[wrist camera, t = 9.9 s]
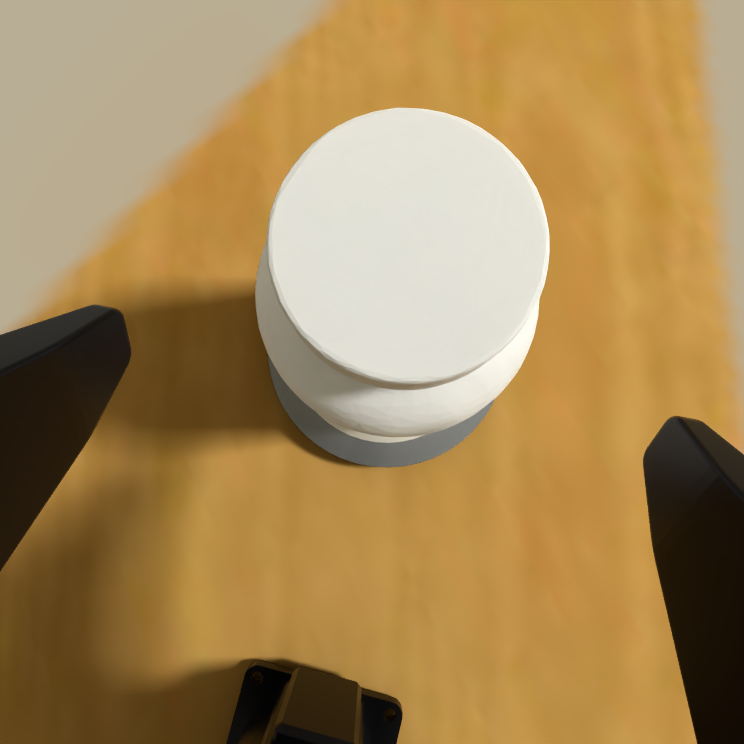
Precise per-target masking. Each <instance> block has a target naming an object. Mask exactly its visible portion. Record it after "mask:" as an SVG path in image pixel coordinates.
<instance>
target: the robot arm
mask: <svg viewBox="0 0 744 744" xmlns="http://www.w3.org/2000/svg"><path fill="white" fill-rule="evenodd" d="M130 357H131V347H130V342H129V338H128V333H127V329H126V324H125V320H124V316H123V314H122V313H121V311H120V310H118V309H116V308H111V307H106V306H101V305H90V306H87V307H84V308H81V309H78V310H75V311H72V312H69V313H66V314H63V315H60V316H57V317H54V318H51V319H48V320H45V321H41V322H38V323H35V324H32V325H29V326H26V327H23V328H20V329H17V330H14V331H11V332H8V333H5V334H2V335H0V571H1V570H2V568H3V567H4V565H5V564H6V562H7V561H8V559H9V558H10V556H11V555H12V553H13V552H14V550H15V549H16V547H17V546H18V544H19V543H20V541H21V540H22V538H23V537H24V535H25V534H26V532H27V531H28V529H29V528H30V526H31V525H32V523H33V522H34V520H35V519H36V517H37V516H38V514H39V513H40V512H41V510H42V509H43V507H44V506H45V504H46V503H47V501H48V500H49V498H50V497H51V495H52V494H53V492H54V491H55V489H56V488H57V486H58V485H59V483H60V482H61V480H62V479H63V477H64V476H65V474H66V473H67V471H68V470H69V468H70V467H71V465H72V464H73V462H74V461H75V459H76V458H77V456H78V455H79V453H80V452H81V450H82V449H83V447H84V446H85V444H86V443H87V441H88V440H89V438H90V436H91V435H92V433H93V431H94V429H95V427H96V426H97V424H98V422H99V420H100V418H101V416H102V414H103V412H104V410H105V408H106V406H107V404H108V403H109V401H110V399H111V397H112V395H113V393H114V391H115V389H116V387H117V385H118V383H119V381H120V379H121V377H122V375H123V373H124V372H125V370H126V368H127V366H128V364H129V361H130ZM643 468H644V477H645V486H646V495H647V504H648V513H649V523H650V532H651V539H652V546H653V552H654V557H655V562H656V566H657V571H658V575H659V579H660V584H661V588H662V592H663V597H664V601H665V605H666V610H667V614H668V618H669V623H670V627H671V632H672V636H673V640H674V645H675V649H676V653H677V658H678V662H679V666H680V671H681V675H682V679H683V684H684V688H685V692H686V697H687V701H688V705H689V710H690V714H691V719H692V723H693V727H694V732H695V736H696V740H697V744H744V455H743V454H742V453H741V452H740V451H738V450H737V449H736V448H735V447H733V446H732V445H731V444H730V443H728V442H727V441H726V440H725V439H723V438H722V437H721V436H720V435H718V434H717V433H716V432H715V431H714V430H712V429H711V428H710V427H709V426H707V425H706V424H705V423H703V422H702V421H699V420H696V419H691V418H686V417H680V416H674V417H671V418H669V419H668V420H667V421H666V422H665V423H664V425H663V426H662V428H661V429H660V431H659V432H658V433H657V435H656V436H655V438H654V439H653V440H652V442H651V443H650V445H649V446H648V447H647V449H646V451H645V454H644V458H643ZM254 672H260V673H262V675H263V679H261V680H257V679H255V678H254V676H253V673H254ZM387 709H393V710H395V714H394V715H393V716H387V715H385V713H384V712H385V710H387ZM401 721H402V707H401V704H400V702H399V701H398V700H397V699H396V698H394V697H391V696H387V695H384V694H380V693H377V692H373V691H369V690H366V689H362V688H360V686H359V684H358V683H357V682H355V681H351V680H348V679H344V678H341V677H337V676H333V675H330V674H326V673H323V672H319V671H315V670H312V669H308V668H305V667H299V668H297V669H295V670H294V669H290V668H286V667H283V666H279V665H276V664H272V663H268V662H265V661H255V662H253V663H252V664H251V665H250V666H249V668H248V670H247V672H246V674H245V676H244V680H243V684H242V688H241V691H240V695H239V699H238V703H237V706H236V710H235V714H234V718H233V721H232V725H231V729H230V733H229V736H228V740H227V744H396V743H397V738H398V734H399V730H400V726H401Z"/></svg>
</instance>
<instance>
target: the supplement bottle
mask: <svg viewBox="0 0 744 744" xmlns="http://www.w3.org/2000/svg"><path fill="white" fill-rule="evenodd" d="M548 262H549V229H548V224H547V218H546V214H545V211H544V207H543V204H542V200H541V198H540V196H539V193H538V191H537V188H536V187H535V185H534V183H533V182H532V180H531V178H530V176H529V175H528V173H527V171H526V170H525V168H524V167H523V165H522V164H521V163H520V161H519V160H518V159H517V158H516V157H515V156H514V155H513V154H512V153H511V152H510V151H509V150H508V149H507V148H506V147H505V146H504V145H503V144H502V143H501V142H500V141H498V140H497V139H496V138H495V137H493V136H492V135H490V134H489V133H488V132H486V131H485V130H483V129H482V128H480V127H478V126H476V125H474V124H472V123H471V122H469V121H467V120H464V119H462V118H459V117H456V116H453V115H450V114H447V113H443V112H438V111H433V110H427V109H419V108H393V109H387V110H381V111H375V112H371V113H368V114H365V115H362V116H359V117H355V118H353V119H351V120H349V121H347V122H344V123H342V124H340V125H338V126H336V127H335V128H333V129H332V130H330V131H328V132H327V133H325V134H324V135H323V136H322V137H320V138H319V139H318V140H317V141H316V142H314V143H313V144H312V145H311V146H310V147H309V148H308V149H307V150H306V151H305V152H304V153H303V154H302V155H301V156H300V157H299V159H298V160H297V161H296V163H295V164H294V165H293V167H292V168H291V169H290V171H289V172H288V174H287V175H286V177H285V179H284V181H283V183H282V184H281V186H280V189H279V191H278V193H277V195H276V197H275V200H274V203H273V205H272V209H271V213H270V217H269V221H268V231H267V239H266V244H265V246H264V249H263V252H262V255H261V258H260V263H259V267H258V272H257V280H256V288H255V300H256V313H257V320H258V325H259V330H260V333H261V336H262V340H263V342H264V345H265V347H266V350H267V352H268V355H269V357H270V359H271V361H272V362H273V364H274V366H275V368H276V370H277V371H278V373H279V375H280V376H281V377H282V379H283V380H284V381H285V383H286V384H287V385H288V387H289V388H290V389H291V390H292V391H293V392H294V393H295V394H296V395H297V396H298V397H299V398H300V399H301V400H302V401H303V402H304V403H305V404H306V405H308V406H309V407H310V408H311V409H313V410H314V411H316V412H317V413H319V414H320V415H322V416H323V417H325V418H327V419H328V420H330V421H332V422H334V423H336V424H338V425H341V426H343V427H346V428H348V429H351V430H354V431H357V432H361V433H365V434H369V435H375V436H383V437H412V436H421V435H426V434H430V433H434V432H437V431H441V430H444V429H447V428H449V427H452V426H454V425H456V424H458V423H460V422H462V421H464V420H466V419H468V418H470V417H471V416H473V415H474V414H476V413H477V412H478V411H480V410H481V409H482V408H484V407H485V406H486V405H488V404H489V403H490V402H491V401H492V400H494V399H495V398H496V397H497V396H498V395H499V394H500V393H501V392H502V391H503V390H504V388H505V387H506V386H507V385H508V384H509V383H510V381H511V380H512V379H513V377H514V376H515V375H516V373H517V372H518V370H519V368H520V367H521V365H522V363H523V361H524V359H525V357H526V355H527V353H528V350H529V348H530V345H531V343H532V340H533V337H534V333H535V328H536V324H537V319H538V310H539V298H540V295H541V292H542V290H543V287H544V283H545V279H546V275H547V269H548Z"/></svg>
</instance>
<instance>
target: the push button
mask: <svg viewBox="0 0 744 744" xmlns="http://www.w3.org/2000/svg"><path fill="white" fill-rule="evenodd" d="M268 358H269V367H270V373H271V378H272V381H273V384H274V387H275V390H276V394H277V396H278V398H279V400H280V402H281V404H282V406H283V408H284V409H285V411H286V412H287V414H288V415H289V417H290V418H291V420H292V421H293V422H294V424H295V425H296V426H297V427H298V428H299V429H300V430H301V432H302V433H304V434H305V435H306V436H307V437H308V438H309V439H310V440H312V441H313V442H314V443H315V444H317V445H318V446H320V447H321V448H323V449H324V450H326V451H327V452H329V453H331V454H333V455H335V456H337V457H340V458H342V459H345V460H348V461H351V462H354V463H357V464H362V465H367V466H372V467H400V466H407V465H412V464H417V463H421V462H423V461H426V460H429V459H432V458H435V457H437V456H439V455H440V454H442V453H444V452H446V451H448V450H450V449H451V448H453V447H454V446H455V445H457V444H458V443H460V442H461V441H462V440H464V439H465V438H466V437H467V436H468V435H469V434H470V433H471V432H472V431H473V430H474V429H475V428H476V427H477V425H478V424H479V423H480V422H481V421H482V419H483V418H484V417H485V415H486V413H487V412H488V410H489V409H490V407H491V405H492V403H493V401H494V400H492V401H491V402H490V403H489V404H488V405H486V406H485V407H484V408H482V409H481V410H480V411H478V412H477V413H476V414H474V415H473V416H471V417H470V418H468V419H466V420H464V421H462V422H460V423H458V424H456V425H454V426H452V427H449V428H447V429H444V430H441V431H437V432H434V433H430V434H426V435H421V436H412V437H383V436H375V435H369V434H365V433H361V432H357V431H354V430H351V429H348V428H346V427H343V426H341V425H338V424H336V423H334V422H332V421H330V420H328V419H327V418H325V417H323V416H322V415H320V414H319V413H317V412H316V411H314V410H313V409H311V408H310V407H309V406H308V405H306V404H305V403H304V402H303V401H302V400H301V399H300V398H299V397H298V396H297V395H296V394H295V393H294V392H293V391H292V390H291V389H290V388H289V387H288V385H287V384H286V383H285V381H284V380H283V379H282V377H281V376H280V375H279V373H278V371H277V370H276V368H275V366H274V364H273V362H272V361H271V359H270V357H269V355H268Z"/></svg>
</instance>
